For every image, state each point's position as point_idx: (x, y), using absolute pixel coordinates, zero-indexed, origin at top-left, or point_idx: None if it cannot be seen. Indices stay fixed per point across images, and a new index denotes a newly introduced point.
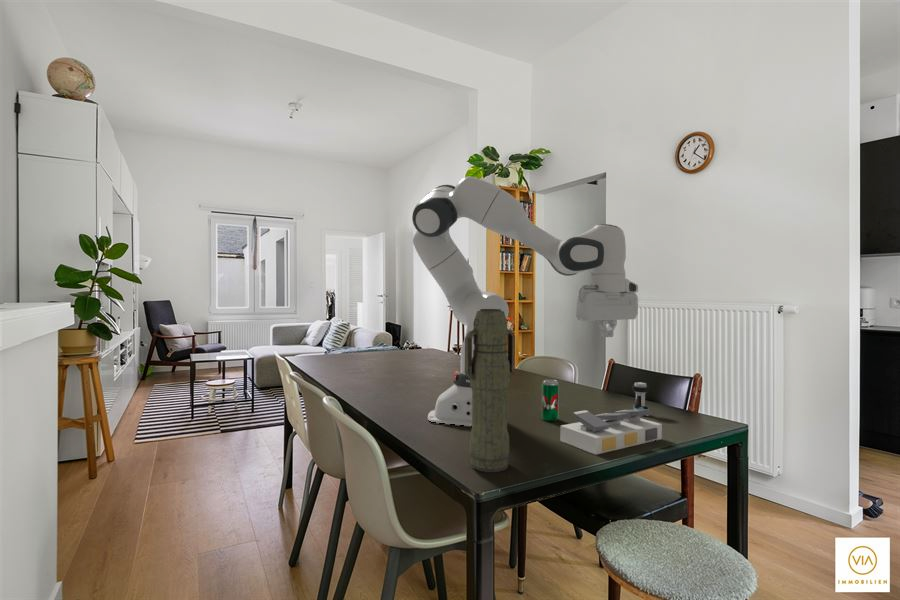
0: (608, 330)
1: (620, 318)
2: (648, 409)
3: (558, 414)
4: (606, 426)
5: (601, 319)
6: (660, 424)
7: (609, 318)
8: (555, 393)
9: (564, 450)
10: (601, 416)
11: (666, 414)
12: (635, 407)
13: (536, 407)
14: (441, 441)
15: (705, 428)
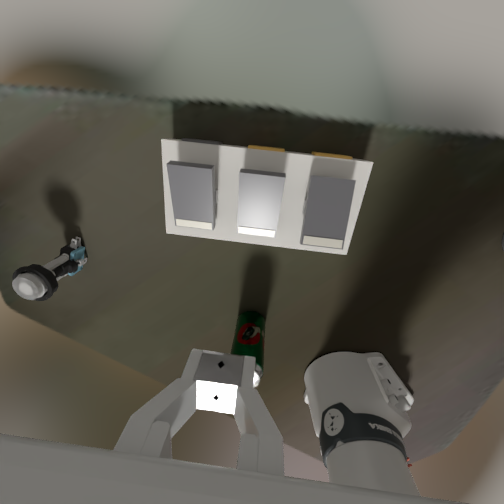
0: (210, 392)
1: (76, 455)
2: (171, 164)
3: (242, 317)
4: (319, 176)
5: (350, 491)
6: (165, 139)
7: (237, 483)
8: (250, 346)
9: (380, 207)
10: (278, 217)
11: (30, 226)
12: (77, 267)
13: None
14: (478, 339)
15: (27, 124)
